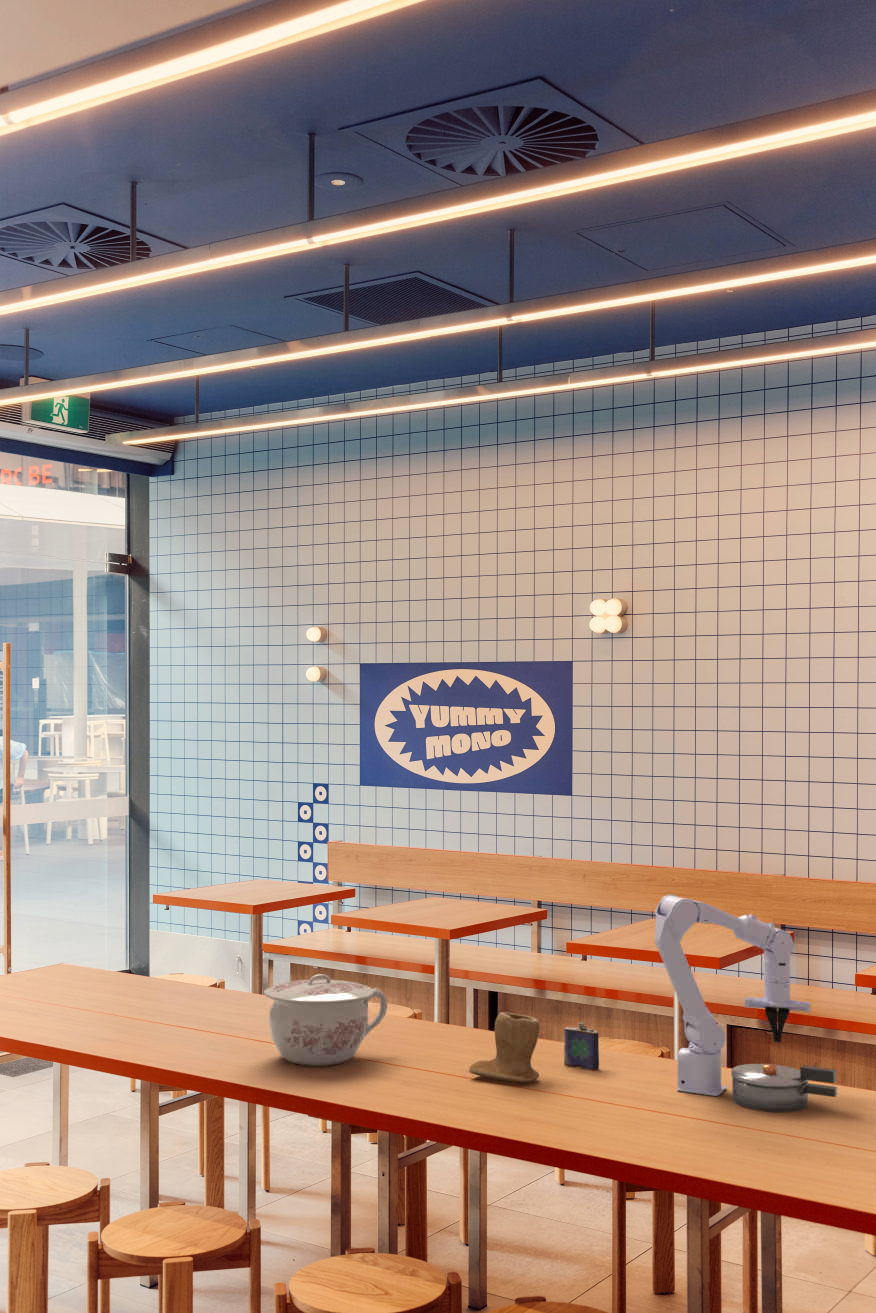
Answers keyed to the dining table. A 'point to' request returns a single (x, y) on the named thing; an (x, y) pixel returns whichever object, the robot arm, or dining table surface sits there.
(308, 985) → the chamber pot
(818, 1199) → the dining table surface
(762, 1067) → the cooker lid
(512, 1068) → the brown boot
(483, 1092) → the dining table surface
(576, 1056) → the flask
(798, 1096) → the cooker pot
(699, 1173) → the dining table surface
